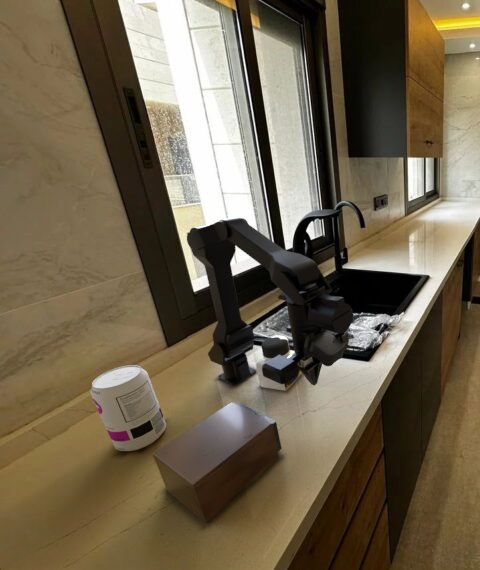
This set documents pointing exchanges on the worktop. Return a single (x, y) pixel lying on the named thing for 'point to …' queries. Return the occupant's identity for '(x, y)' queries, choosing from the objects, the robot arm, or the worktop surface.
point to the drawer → (267, 420)
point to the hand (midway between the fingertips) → (314, 384)
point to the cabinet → (217, 459)
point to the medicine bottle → (271, 350)
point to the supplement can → (128, 407)
